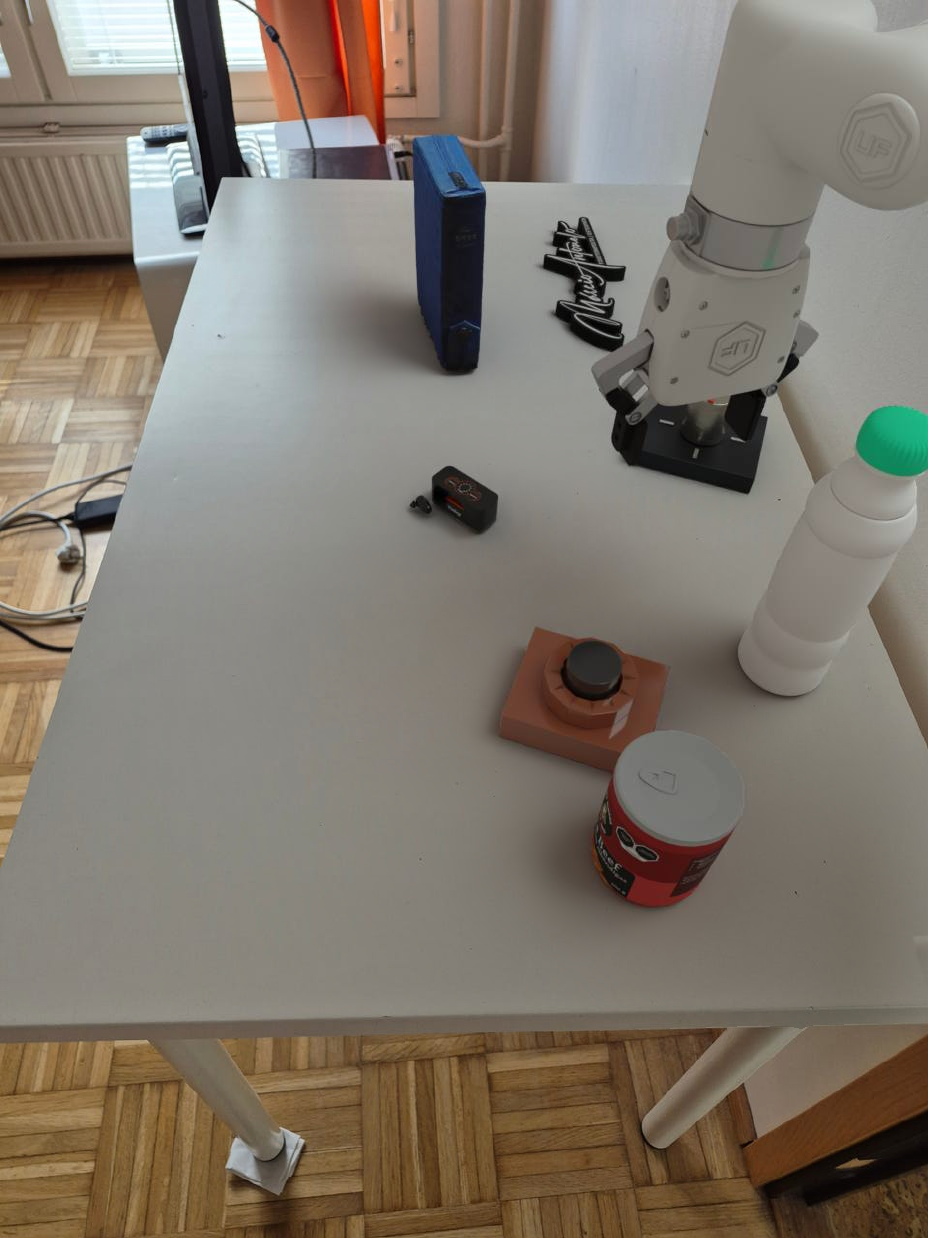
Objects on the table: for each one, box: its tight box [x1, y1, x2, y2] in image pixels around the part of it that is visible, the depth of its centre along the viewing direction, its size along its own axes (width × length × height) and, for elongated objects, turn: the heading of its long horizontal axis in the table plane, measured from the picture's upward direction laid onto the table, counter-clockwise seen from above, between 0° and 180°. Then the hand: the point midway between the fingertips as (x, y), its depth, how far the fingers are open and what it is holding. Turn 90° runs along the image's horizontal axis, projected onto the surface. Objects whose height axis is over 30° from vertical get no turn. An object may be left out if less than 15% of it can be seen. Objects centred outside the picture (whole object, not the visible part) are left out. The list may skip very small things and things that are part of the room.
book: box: [411, 133, 487, 372], centre depth 92 cm, size 14×5×20 cm, turn 14°
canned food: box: [590, 729, 746, 908], centre depth 58 cm, size 8×8×11 cm
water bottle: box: [737, 405, 928, 697], centre depth 63 cm, size 7×7×25 cm
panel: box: [636, 403, 769, 494], centre depth 89 cm, size 12×10×2 cm
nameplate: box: [542, 216, 627, 353], centre depth 108 cm, size 28×2×10 cm
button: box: [564, 641, 622, 700], centre depth 65 cm, size 4×4×2 cm
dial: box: [680, 395, 731, 446], centre depth 86 cm, size 4×4×5 cm
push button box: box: [498, 626, 671, 773], centre depth 68 cm, size 11×9×5 cm
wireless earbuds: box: [409, 465, 499, 533], centre depth 81 cm, size 5×7×3 cm, turn 49°
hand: (681, 441), depth 68 cm, fingers open, 9 cm apart
